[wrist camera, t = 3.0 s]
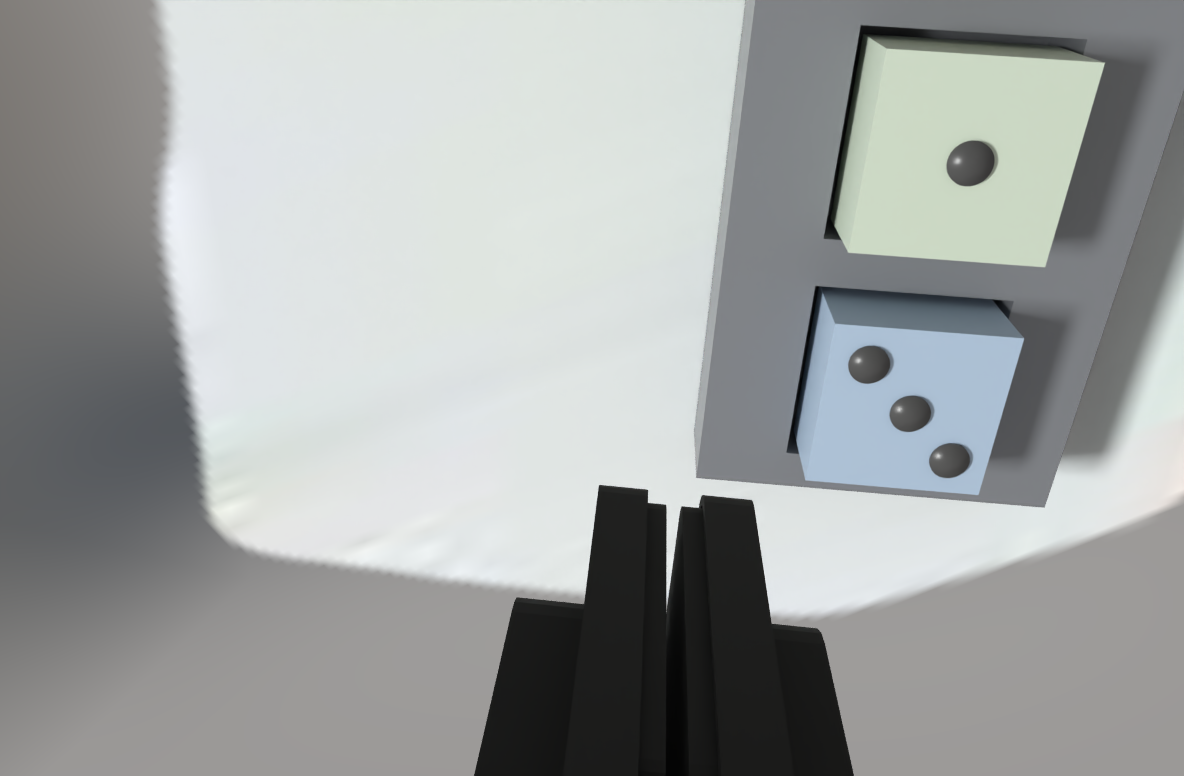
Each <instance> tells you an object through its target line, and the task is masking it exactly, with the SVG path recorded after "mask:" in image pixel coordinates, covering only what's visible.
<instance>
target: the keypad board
mask: <svg viewBox="0 0 1184 776" xmlns="http://www.w3.org/2000/svg"><path fill="white" fill-rule="evenodd" d="M863 34H873V35H888V36H904V37H920V38H935V39H951V40H967V41H982V42H998V43H1014V44H1029V45H1045V46H1058V47H1061V48H1063V49H1066V50H1069V51H1072V52H1075V53H1078V54H1081V55H1084V56H1087V57H1090V58H1093V59H1095V60H1098V61H1101V62H1104V63H1105V64H1104V68H1103V71H1102V75H1101V78H1100V82H1099V85H1098V88H1097V92H1096V95H1095V99H1094V102H1093V105H1092V109H1091V112H1090V116H1089V119H1088V123H1087V126H1086V129H1085V133H1084V136H1083V140H1082V143H1081V146H1080V150H1079V153H1078V157H1077V160H1076V164H1075V167H1074V170H1073V174H1072V177H1071V181H1070V184H1069V187H1068V191H1067V194H1066V198H1065V201H1064V204H1063V208H1062V211H1061V215H1060V218H1059V222H1058V225H1057V228H1056V232H1055V235H1054V239H1053V242H1052V245H1051V249H1050V252H1049V256H1048V259H1047V263H1046V266H1045V267H1034V266H1020V265H1007V264H993V263H980V262H966V261H953V260H939V259H926V258H913V257H899V256H886V255H872V254H859V253H848V251H847V249H846V247H845V245H844V243H843V241H842V240H841V238H840V236H839V234H838V232H837V230H836V228H835V226H834V224H833V222H832V220H831V214H832V208H833V203H834V197H835V191H836V186H837V180H838V174H839V169H840V163H841V157H842V152H843V146H844V140H845V134H846V129H847V123H848V117H849V112H850V106H851V100H852V95H853V89H854V83H855V78H856V72H857V66H858V61H859V55H860V49H861V43H862V38H863ZM1183 92H1184V0H746V1H745V9H744V17H743V26H742V34H741V43H740V51H739V59H738V68H737V76H736V85H735V93H734V101H733V110H732V118H731V127H730V135H729V143H728V152H727V160H726V169H725V177H724V185H723V194H722V202H721V211H720V219H719V227H718V236H717V244H716V253H715V261H714V270H713V278H712V286H711V295H710V303H709V312H708V320H707V328H706V337H705V345H704V354H703V362H702V370H701V379H700V387H699V396H698V404H697V412H696V421H695V429H694V437H695V460H696V478H705V479H716V480H728V481H740V482H751V483H763V484H775V485H786V486H798V487H810V488H822V489H833V490H845V491H857V492H868V493H880V494H892V495H904V496H915V497H927V498H939V499H950V500H962V501H974V502H985V503H997V504H1009V505H1021V506H1032V507H1045V504H1046V501H1047V498H1048V495H1049V492H1050V489H1051V486H1052V483H1053V480H1054V477H1055V474H1056V471H1057V468H1058V465H1059V462H1060V459H1061V456H1062V453H1063V450H1064V447H1065V444H1066V442H1067V439H1068V436H1069V433H1070V430H1071V427H1072V424H1073V421H1074V418H1075V415H1076V412H1077V409H1078V406H1079V403H1080V400H1081V397H1082V394H1083V391H1084V388H1085V385H1086V382H1087V379H1088V376H1089V373H1090V370H1091V367H1092V364H1093V361H1094V358H1095V355H1096V352H1097V349H1098V346H1099V343H1100V340H1101V337H1102V334H1103V331H1104V328H1105V325H1106V322H1107V319H1108V316H1109V313H1110V310H1111V307H1112V304H1113V301H1114V298H1115V295H1116V292H1117V289H1118V286H1119V283H1120V280H1121V277H1122V274H1123V271H1124V268H1125V265H1126V262H1127V259H1128V256H1129V253H1130V250H1131V247H1132V244H1133V241H1134V238H1135V235H1136V232H1137V229H1138V226H1139V223H1140V220H1141V217H1142V214H1143V211H1144V208H1145V205H1146V202H1147V199H1148V196H1149V193H1150V190H1151V187H1152V185H1153V182H1154V179H1155V176H1156V173H1157V170H1158V167H1159V164H1160V161H1161V158H1162V155H1163V152H1164V149H1165V146H1166V143H1167V140H1168V137H1169V134H1170V131H1171V128H1172V125H1173V122H1174V119H1175V116H1176V113H1177V110H1178V107H1179V104H1180V101H1181V98H1182V95H1183ZM819 286H824V287H837V288H850V289H863V290H876V291H889V292H903V293H916V294H929V295H942V296H955V297H969V298H982V299H992V300H993V301H994V303H995V304H996V305H997V306H998V307H999V309H1000V310H1001V311H1002V312H1003V313H1004V315H1005V316H1006V317H1007V318H1008V320H1009V321H1010V322H1011V323H1012V324H1013V326H1014V327H1015V328H1016V329H1017V330H1018V332H1019V333H1020V334H1021V335H1022V336H1023V338H1024V341H1023V345H1022V348H1021V351H1020V355H1019V358H1018V362H1017V365H1016V368H1015V372H1014V375H1013V379H1012V382H1011V385H1010V389H1009V392H1008V396H1007V399H1006V403H1005V406H1004V409H1003V413H1002V416H1001V420H1000V423H999V426H998V430H997V433H996V437H995V440H994V444H993V447H992V450H991V454H990V457H989V461H988V464H987V467H986V471H985V474H984V478H983V481H982V485H981V488H980V491H979V495H972V494H960V493H948V492H936V491H925V490H913V489H901V488H889V487H878V486H866V485H854V484H842V483H831V482H819V481H807V480H805V476H804V472H803V467H802V463H801V459H800V455H799V451H798V446H797V442H796V438H795V434H794V424H795V419H796V413H797V407H798V402H799V396H800V390H801V385H802V379H803V373H804V368H805V362H806V356H807V351H808V345H809V339H810V333H811V328H812V322H813V316H814V311H815V305H816V299H817V294H818V288H819Z"/></svg>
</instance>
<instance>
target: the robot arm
mask: <svg viewBox="0 0 1184 776" xmlns="http://www.w3.org/2000/svg"><path fill="white" fill-rule="evenodd" d="M474 776H854V774H853V770H852V765H851V760H850V756H849V752H848V747H847V742H846V738H845V733H844V729H843V724H842V720H841V715H840V710H839V706H838V701H837V697H836V692H835V688H834V683H833V679H832V674H831V670H830V666H829V661H828V656H827V651H826V647H825V643H824V640H823V637H822V634H821V632H820V631H819V630H818V629H816V628H806V627H797V626H788V625H778V624H772V623H771V617H770V610H769V603H768V597H767V590H766V583H765V576H764V570H763V563H762V556H761V550H760V543H759V536H758V530H757V523H756V516H755V510H754V504H753V501H752V500H746V499H735V498H725V497H715V496H705V495H702V497H701V500H700V504H699V508H693V507H683V506H682V507H681V511H680V516H679V524H678V531H677V538H676V546H675V553H674V561H673V568H672V576H671V583H670V590H669V598H668V605H667V613H666V505H663V504H653V503H648V490H645V489H635V488H625V487H614V486H604V485H599V490H598V498H597V506H596V514H595V522H594V530H593V538H592V546H591V554H590V562H589V570H588V578H587V586H586V594H585V602H584V604H576V603H575V604H574V603H566V602H556V601H546V600H536V599H527V598H516V600H515V602H514V606H513V609H512V613H511V617H510V622H509V626H508V630H507V635H506V639H505V643H504V648H503V652H502V656H501V661H500V665H499V670H498V674H497V678H496V683H495V687H494V691H493V696H492V700H491V704H490V709H489V713H488V717H487V722H486V726H485V731H484V735H483V739H482V744H481V748H480V752H479V757H478V761H477V765H476V770H475V774H474Z"/></svg>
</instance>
